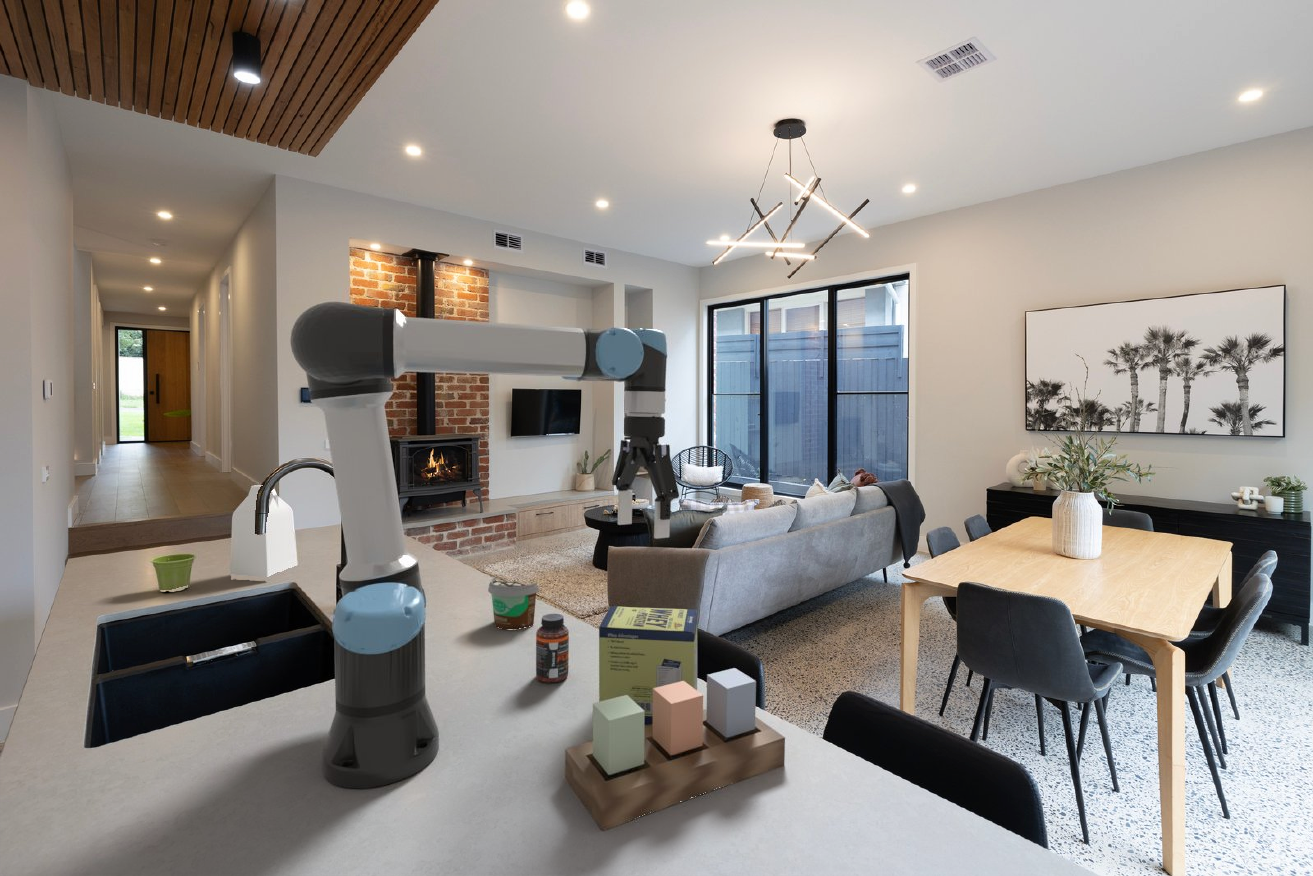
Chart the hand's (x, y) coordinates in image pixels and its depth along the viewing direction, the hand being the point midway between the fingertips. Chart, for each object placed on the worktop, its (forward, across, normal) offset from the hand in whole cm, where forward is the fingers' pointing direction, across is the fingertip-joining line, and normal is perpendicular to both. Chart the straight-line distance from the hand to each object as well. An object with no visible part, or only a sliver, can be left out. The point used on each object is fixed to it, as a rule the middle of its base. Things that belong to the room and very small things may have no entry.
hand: (642, 530), depth 114 cm
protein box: (+27, -12, +5) cm, 30 cm away
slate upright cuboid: (+23, -30, +2) cm, 37 cm away
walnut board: (+27, -29, +11) cm, 41 cm away
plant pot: (+29, +106, +81) cm, 137 cm away
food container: (+28, +36, +13) cm, 47 cm away
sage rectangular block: (+23, -29, +20) cm, 42 cm away
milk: (+28, +111, +61) cm, 129 cm away
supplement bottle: (+28, +7, +14) cm, 32 cm away
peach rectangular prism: (+23, -29, +11) cm, 39 cm away
